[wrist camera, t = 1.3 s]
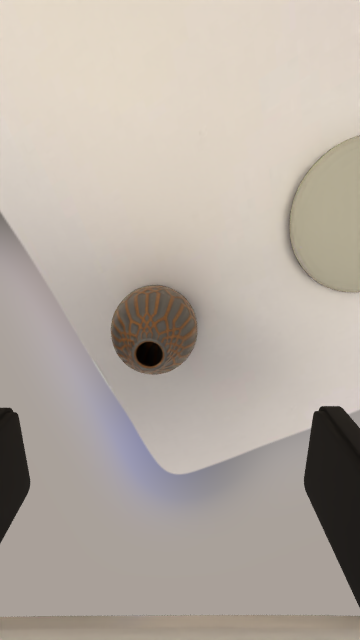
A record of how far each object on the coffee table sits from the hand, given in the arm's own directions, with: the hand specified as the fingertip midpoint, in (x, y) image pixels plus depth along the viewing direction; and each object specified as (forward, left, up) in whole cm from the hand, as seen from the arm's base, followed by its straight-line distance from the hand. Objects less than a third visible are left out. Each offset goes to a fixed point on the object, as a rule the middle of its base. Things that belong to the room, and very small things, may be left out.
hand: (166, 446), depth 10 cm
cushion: (+15, +8, -20) cm, 26 cm away
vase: (-1, -2, -20) cm, 20 cm away
